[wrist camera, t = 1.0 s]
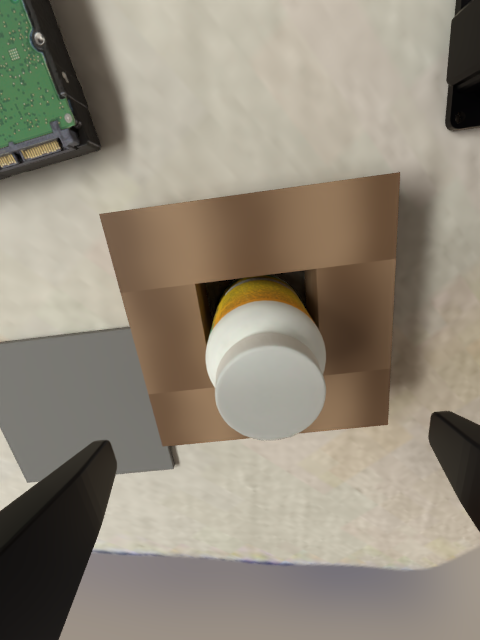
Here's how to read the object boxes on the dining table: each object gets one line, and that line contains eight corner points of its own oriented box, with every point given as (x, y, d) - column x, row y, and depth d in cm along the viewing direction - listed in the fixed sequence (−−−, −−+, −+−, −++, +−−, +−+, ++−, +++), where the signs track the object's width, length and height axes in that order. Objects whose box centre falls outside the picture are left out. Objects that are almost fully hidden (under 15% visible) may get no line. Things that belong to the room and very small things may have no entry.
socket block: (369, 178, 17) (400, 172, 14) (366, 391, 22) (387, 424, 19) (125, 212, 18) (99, 214, 15) (174, 411, 23) (162, 446, 19)
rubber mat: (138, 325, 20) (136, 328, 20) (174, 464, 24) (173, 468, 24) (-34, 346, 21) (-39, 348, 21) (30, 478, 25) (27, 482, 25)
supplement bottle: (307, 336, 20) (359, 439, 11) (231, 357, 21) (223, 470, 12) (287, 259, 19) (330, 308, 10) (205, 284, 19) (172, 353, 10)
